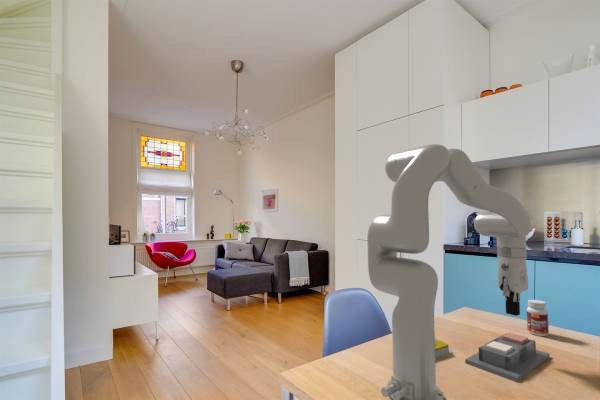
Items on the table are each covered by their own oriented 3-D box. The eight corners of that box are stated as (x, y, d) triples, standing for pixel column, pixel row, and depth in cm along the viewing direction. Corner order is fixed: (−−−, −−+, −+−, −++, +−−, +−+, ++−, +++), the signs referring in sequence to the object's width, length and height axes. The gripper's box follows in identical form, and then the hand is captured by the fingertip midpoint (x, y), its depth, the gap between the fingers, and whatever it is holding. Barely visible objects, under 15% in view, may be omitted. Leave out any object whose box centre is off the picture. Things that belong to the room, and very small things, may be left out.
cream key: (505, 363, 85) (505, 351, 86) (486, 356, 90) (485, 345, 90) (513, 358, 88) (513, 346, 89) (494, 352, 92) (493, 341, 93)
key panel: (517, 381, 80) (516, 363, 80) (465, 362, 90) (464, 346, 91) (549, 356, 94) (548, 341, 94) (501, 343, 104) (501, 329, 105)
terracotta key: (521, 352, 92) (521, 341, 92) (502, 346, 96) (502, 336, 96) (528, 348, 95) (528, 337, 95) (509, 342, 99) (509, 332, 99)
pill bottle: (530, 335, 111) (529, 302, 112) (524, 329, 117) (523, 298, 117) (551, 337, 109) (550, 304, 110) (545, 331, 115) (543, 300, 115)
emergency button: (397, 338, 99) (429, 329, 106) (397, 352, 98) (429, 343, 106) (421, 349, 91) (454, 339, 98) (422, 364, 90) (454, 353, 98)
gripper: (515, 255, 90) (517, 321, 88) (535, 253, 98) (536, 313, 97) (487, 253, 96) (488, 314, 94) (508, 251, 104) (509, 308, 103)
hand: (512, 314), depth 96 cm, fingers closed
